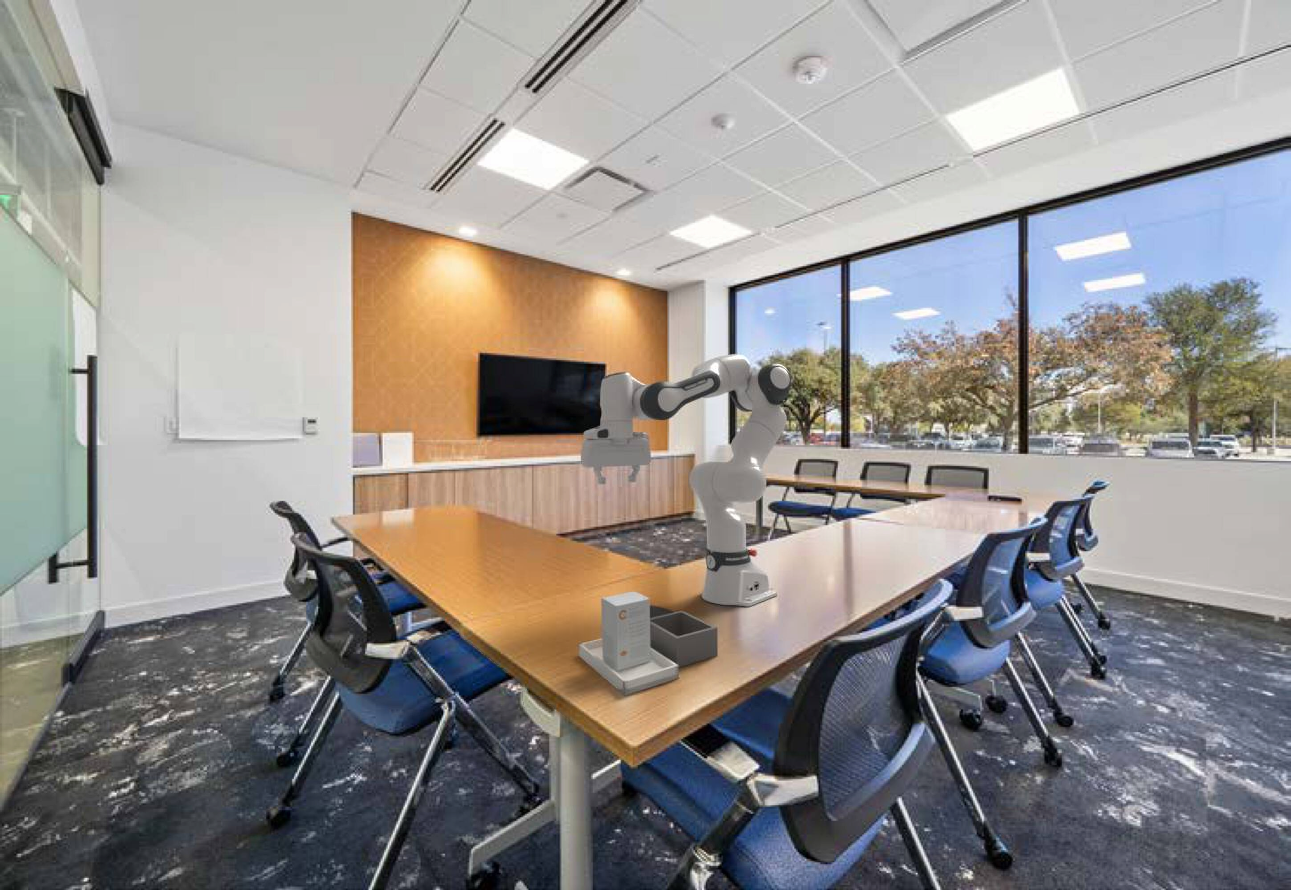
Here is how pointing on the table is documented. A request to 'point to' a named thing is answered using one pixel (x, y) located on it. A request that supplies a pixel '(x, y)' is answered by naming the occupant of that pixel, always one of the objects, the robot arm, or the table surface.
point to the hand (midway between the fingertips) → (617, 483)
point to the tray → (630, 669)
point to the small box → (625, 630)
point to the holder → (683, 638)
